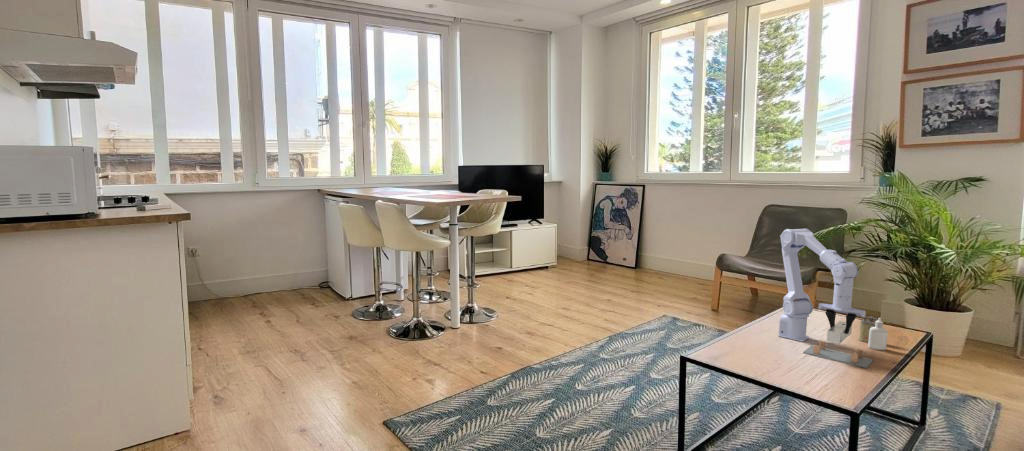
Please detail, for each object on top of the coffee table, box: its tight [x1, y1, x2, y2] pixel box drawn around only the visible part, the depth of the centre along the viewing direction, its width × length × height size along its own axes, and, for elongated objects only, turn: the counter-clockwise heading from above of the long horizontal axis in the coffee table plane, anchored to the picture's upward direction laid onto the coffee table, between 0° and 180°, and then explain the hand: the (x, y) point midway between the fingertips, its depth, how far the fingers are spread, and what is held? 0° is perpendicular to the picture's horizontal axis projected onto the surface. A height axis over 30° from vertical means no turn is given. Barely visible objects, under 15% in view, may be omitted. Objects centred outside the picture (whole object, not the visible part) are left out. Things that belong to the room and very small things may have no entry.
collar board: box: [802, 340, 874, 369], centre depth 194 cm, size 20×10×4 cm, turn 45°
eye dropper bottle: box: [867, 317, 889, 351], centre depth 202 cm, size 4×6×12 cm
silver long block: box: [826, 320, 853, 345], centre depth 194 cm, size 16×4×4 cm, turn 135°
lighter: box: [858, 315, 879, 343], centre depth 210 cm, size 7×4×10 cm, turn 48°
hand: (839, 331), depth 194 cm, fingers closed on silver long block, 4 cm apart
